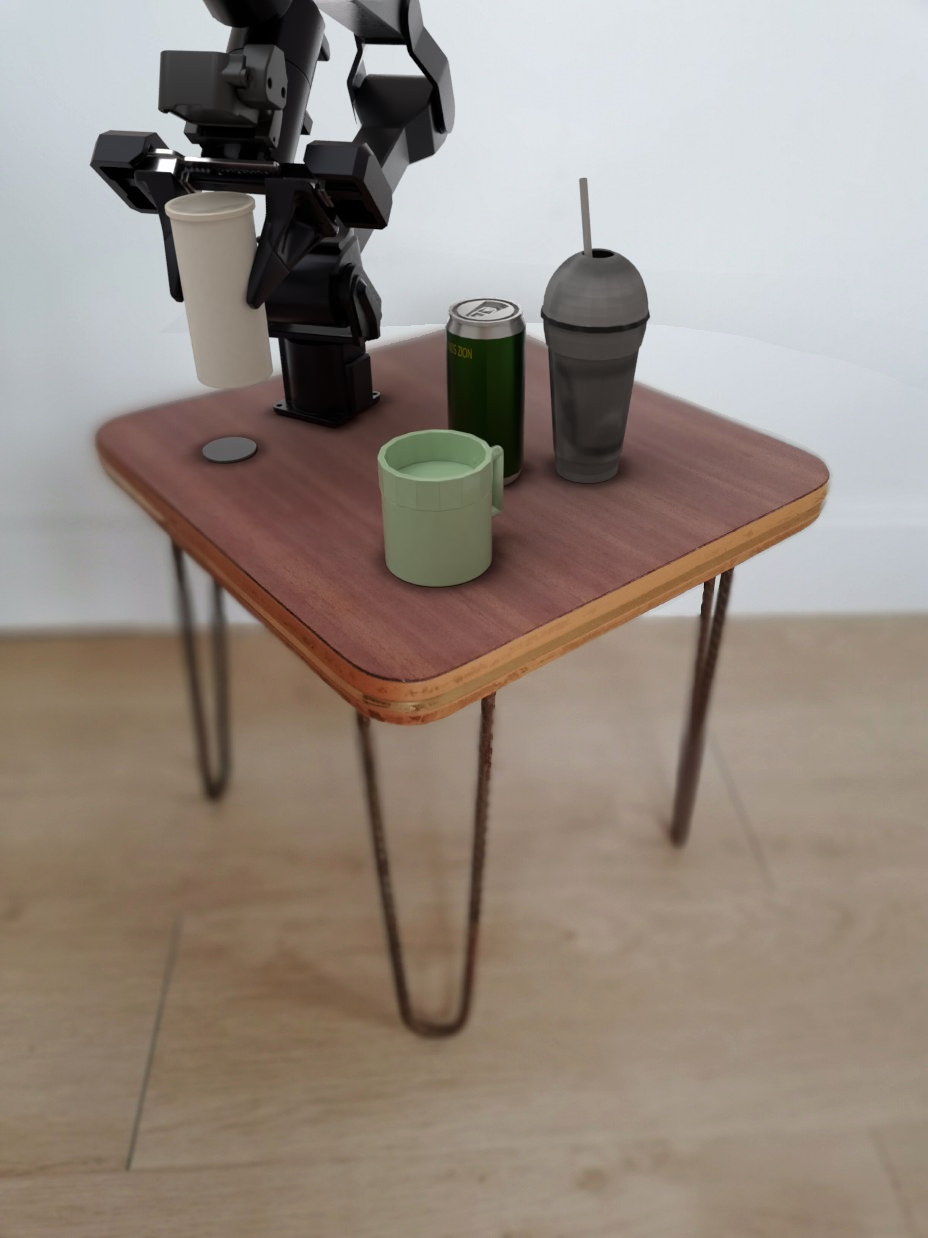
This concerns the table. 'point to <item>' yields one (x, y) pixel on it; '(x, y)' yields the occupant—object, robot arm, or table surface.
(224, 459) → the coaster
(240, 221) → the paper cup
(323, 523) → the table surface
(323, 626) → the table surface
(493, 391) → the beer can
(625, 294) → the beverage cup
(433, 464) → the mug
